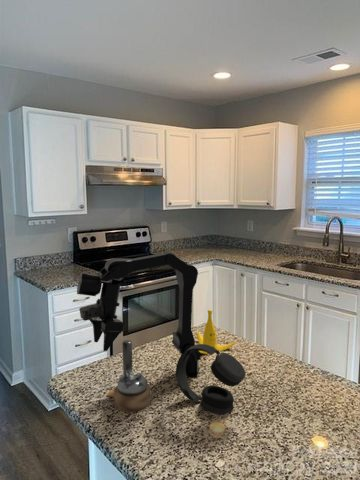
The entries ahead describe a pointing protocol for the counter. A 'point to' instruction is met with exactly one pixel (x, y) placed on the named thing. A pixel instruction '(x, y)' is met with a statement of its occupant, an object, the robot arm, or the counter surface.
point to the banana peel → (211, 336)
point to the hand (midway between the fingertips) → (100, 346)
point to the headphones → (223, 370)
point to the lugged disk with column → (130, 375)
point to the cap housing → (131, 400)
